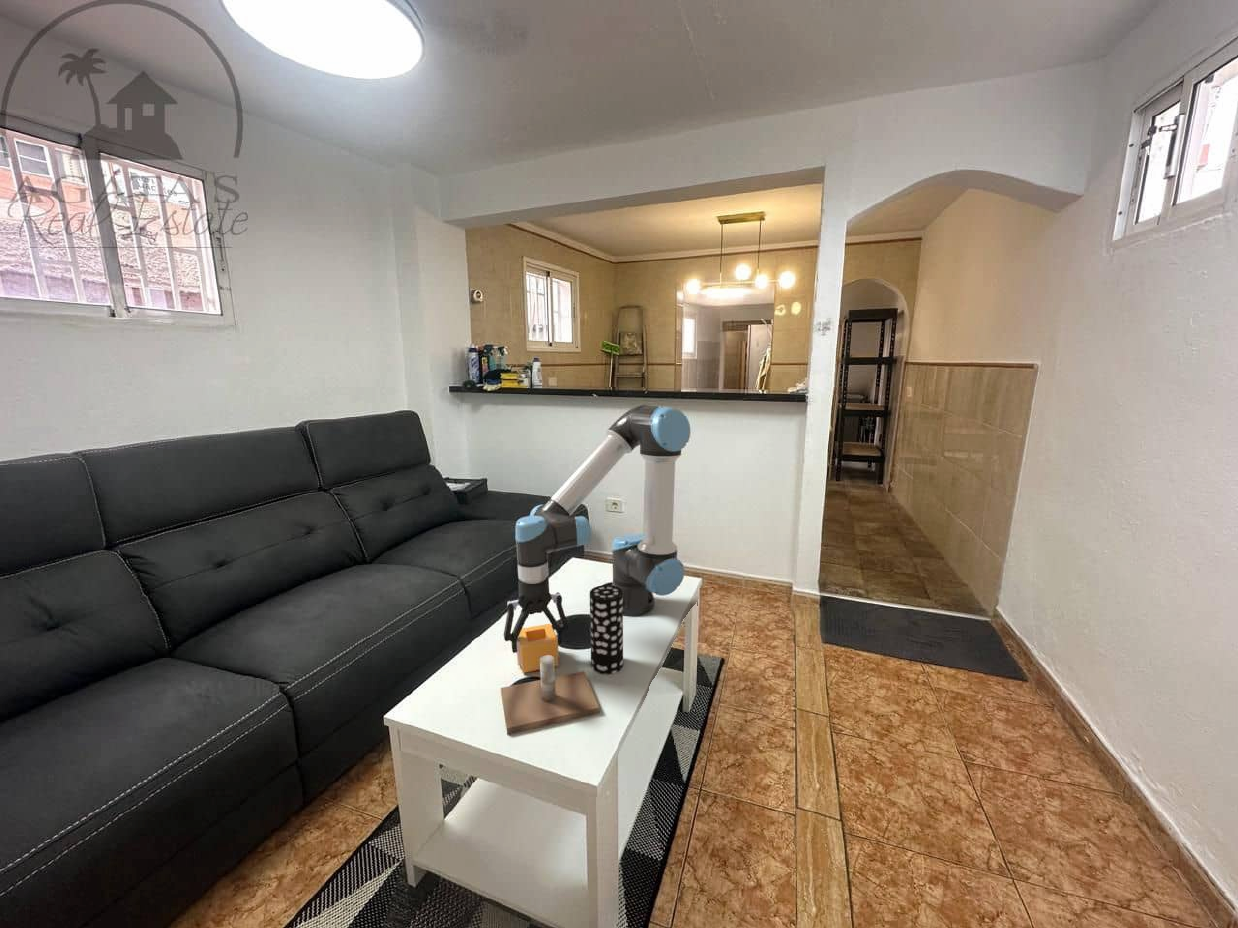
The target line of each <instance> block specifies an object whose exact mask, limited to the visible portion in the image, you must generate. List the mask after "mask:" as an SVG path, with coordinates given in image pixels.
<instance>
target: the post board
mask: <svg viewBox="0 0 1238 928" xmlns="http://www.w3.org/2000/svg"><path fill="white" fill-rule="evenodd" d="M555 668H556V666H555V664H554V657H553V656H550V655H546V656H543V657H541V658H540V670H539V671H540V679H538V680H533V681H528V682H523V683H518V684H514V685H509V686H504V687H501V688H500V696H501V701H502V708H503V714H504V722H505V727H506V736H507V735H511V734H517V733H520V732H525V731H529V730H533V729H537V728H542V727H545V726H551V725H554V724H555V725H556V724H559V723H563V722H568V721H572V720H577V719H581V718H585V717H590V716H593V715H599V714H600V706H599V703H598V701H597V699H596V696H595V694H594V692H593V689H592V688H591V687H592V686H591V685H590V683H589V680H588V679H587V675H586V673H585V672H584V671H577V672H573V673H569V674H563V675H558V676H556V674H555V673H556V669H555Z"/></svg>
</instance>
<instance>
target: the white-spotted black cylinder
mask: <svg viewBox="0 0 1238 928" xmlns="http://www.w3.org/2000/svg"><path fill="white" fill-rule="evenodd" d="M589 631H590V634H589V635H590V668H591V669H592V670H593V671H594V672H596V673H597V674H601V675H611V674H616V673H618V672H620V670H622V668H623V667H624V615H623V591H622V589H620V588H619V587H616V586H612V584H603V585H602V584H601V585H598V586H595V587H593V588H591V589H590V591H589Z"/></svg>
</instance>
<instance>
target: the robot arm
mask: <svg viewBox="0 0 1238 928" xmlns="http://www.w3.org/2000/svg"><path fill="white" fill-rule="evenodd" d="M605 434H606V435H605V437H604V438H603V440H602V441H601V442H600V443H599V444H598V445H597V446H596V447H595V448H594V449H593V451H592V452H591V453H590V454H589V455H588V457H586V459H585V460H584V461H583V462H582V463H581V464H580V465H579V466H578V468H577V469H575V471H574V472H573V473H572V474H571V475H570V476H569V478H567V479H566V480H565V482H564V483H563V484H562V485H561V486H560V488H558V490H557V491H556V492H555V493H554V494H553V495H552V497H550V498H549V500H548V501H547V502H546V503H545V504H539V505H536V506H534V508H532V509H531V511H530V514H529V515H527V516H523V517H520V518H519V519H518V520H517V521H516V522H515V537H514V538H515V544H516V546H515V547H516V556H517V557H516V558H517V575H518V598H517V599H516V600H510V599H508V600H507V601H506V604H507V605H506V606H507V613H506V619H505V620H506V621H505V624H504V625H505V626H504V629H503V630H504V631H503V640H504V641H505V642H509V641H510V642H511V651H512V653H513V654H516V661H517V662H516V663H517V666H521V655H520V641H519V637H518V636H519V634H520V632H521V630H522V628H524V625H525V623H526V621H527V619H528V617H529V615H533V614H541V613H544V616H546V618H547V619H548V621H549V623H550V624H551V626H552V628H553V631H554V633H555V636H556V639H557V646H558V647H559V645H562V643H563V637H562V635H563V632H564V631H568V630H569V625H568V622H567V618H566V615H565V612H564V609H563V605H562V604H563V603H562V602H563V597H562V594H561V593H560V592H559V591H557V592H556V593H555V594H551V593H550V583H549V582H550V581H549V580H550V579H549V562H548V561H549V554H550V553H555V552H558V551H562V550H566V549H570V548H571V549H572V548H575V547H576V548H578V547H580V546H584V545H587V544H589V542H590V541H591V539H592V526H591V523H590V522H589V520H588V518H587V517H585V516H581V515H579V516H573V517H571V515H572V514H574V512H576V510H577V509H578V508H579V506H580V505H581V504H582V503H583V502H584V501H585V500H586V499H587V497H589V495H590V494H591V493H592V492H593V491H594V489H595V488H596V487H597V486H598V485H599V484H600V483H601V481H603V480H604V478H605V477H606V476H607V475H608V474H609V472H610V471H611V470H613V468H614V467H615V466H616V464H617V463H618V462H619V461H620V460H621V459H622V458H623V456H625V455H626V454H630V453H632V452H633V450H635V448H637V447H638V446H639V455H640V456H641V457H642V458H643V459H644V489H643V490H644V493H643V494H644V495H643V523H642V524H643V528H642V534H640V533H639V534H638V533H633V534H630V533H629V534H624V535H619V536H617V537H616V538H614V539H613V541H612V547H611V551H612V583H611V585H612V586H616V587H619V588H620V589H622V591H623V616H633V617H634V616H640V615H645V614H647V613H650V612H651V611H652V610H653V609H654V607H655V596H654V595H657V596H661V597H662V596H668V595H670V594H672V593H674V592H675V591H676V590H677V589H678V587H679V586H681V584H682V582H683V580H684V577H685V566H684V564H683V563H682V561H681V560H680V559H678V546H677V545H676V543H674V542H673V535H674V534H673V533H674V532H673V531H674V511H675V509H674V508H675V483H676V482H675V479H676V461H677V459H679V458H680V457H682V450H683V449H684V448H685V447H686V446H687V443H688V442H689V440H690V437H691V425H690V422H689V419H688V417H687V416H686V415H685V413H684V412H683V411H681V410H679V409H678V408H674V407H670V406H666V405H664V406H661V405H650V404H649V405H648V404H640V405H637V406H633V407H632V408H630V409H628V410H627V411H625V413H623V414H622V415H621V416H619V418H618V419H617V420H615V422H613V424H612V425H611V426H610V427H609V428H608V429H607V430H606V431H605ZM551 600H552V601H553V603H554V604H555V606H556V609H557V611H558V616H559V619H560V622H561V624H559V622H558V621H557V620H556V617H554V615H553V614H552V612H551V611H550V609H549V607H548V605H549V604H550V602H551ZM518 606H519V607H520V608H521V610H520V614H519V616H518V618H517V621H516V623H515V625H514V628H513V630H512V627H513V621H514V616H515V610H517V607H518ZM559 658H560V657H559V652H558V659H559Z"/></svg>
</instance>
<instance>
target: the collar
mask: <svg viewBox="0 0 1238 928" xmlns="http://www.w3.org/2000/svg"><path fill="white" fill-rule="evenodd" d="M553 630H554V627H553V625H552V624H551V623H547V624H539V625H534V626H529V627H523V628H522V630H521V632H520V634H519V636H518V637H519V641H520V655H521V665H520V667H521V670H522V671H521V672H522V673H523V674H525V673H530V672H533V671H538V670H539V671H540V658H541V657H543V656H546V655H550V656H553V657H554V664H555V667H558V666H559V658H558V653H559V645H558V646H557V639H556V636H555V633H554V631H553Z"/></svg>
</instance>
